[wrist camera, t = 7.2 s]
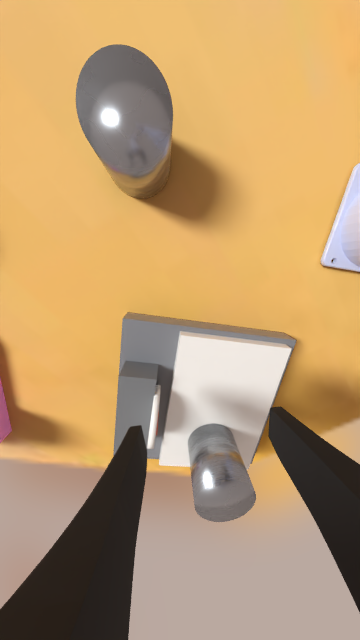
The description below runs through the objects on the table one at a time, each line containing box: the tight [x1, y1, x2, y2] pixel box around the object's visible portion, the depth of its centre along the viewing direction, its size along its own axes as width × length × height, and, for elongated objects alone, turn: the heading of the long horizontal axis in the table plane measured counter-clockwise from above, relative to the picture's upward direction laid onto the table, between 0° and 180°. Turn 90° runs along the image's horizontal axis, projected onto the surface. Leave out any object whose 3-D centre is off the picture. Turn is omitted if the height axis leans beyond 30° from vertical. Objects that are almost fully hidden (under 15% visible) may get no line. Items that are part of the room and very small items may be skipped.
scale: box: [114, 312, 296, 469], centre depth 17 cm, size 16×16×6 cm
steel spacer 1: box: [76, 45, 173, 199], centre depth 12 cm, size 5×5×5 cm
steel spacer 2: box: [188, 423, 256, 522], centre depth 16 cm, size 5×5×5 cm
